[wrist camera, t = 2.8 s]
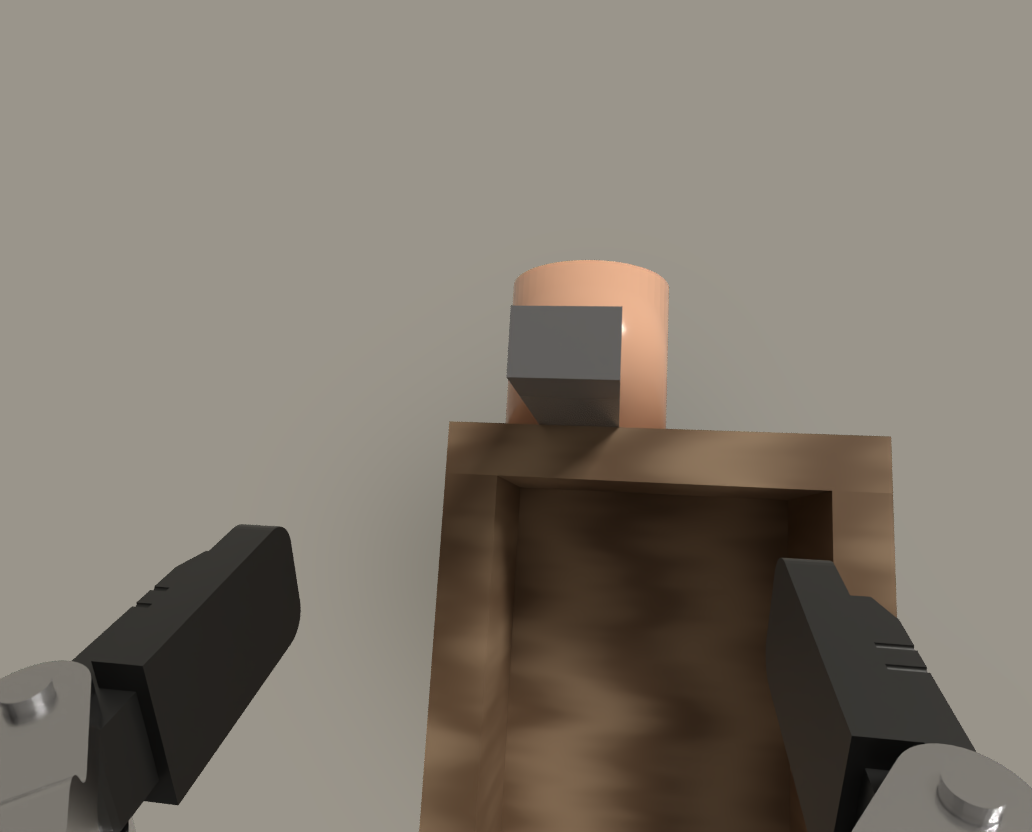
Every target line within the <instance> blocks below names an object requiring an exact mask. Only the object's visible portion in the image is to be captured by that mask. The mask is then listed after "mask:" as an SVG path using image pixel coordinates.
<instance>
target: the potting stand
mask: <svg viewBox="0 0 1032 832" xmlns="http://www.w3.org/2000/svg"><path fill="white" fill-rule="evenodd" d="M891 452H892V450H891V437H885V436H857V435H829V434H828V435H827V434H798V433H770V432H740V431H711V430H710V431H709V430H683V429H654V428H625V427H596V426H566V425H537V424H508V423H478V422H450V423H449V435H448V449H447V463H446V476H445V490H444V504H443V517H442V531H441V545H440V557H439V571H438V584H437V598H436V612H435V626H434V639H433V653H432V666H431V680H430V694H429V707H428V721H427V735H426V749H425V761H424V775H423V789H422V802H421V816H420V829H419V832H807V828H806V824H805V820H804V816H803V813H802V809H801V805H800V801H799V798H798V794H797V790H796V786H795V783H794V779H793V775H792V771H791V767H790V764H789V760H788V756H787V752H786V749H785V745H784V741H783V737H782V734H781V730H780V726H779V722H778V718H777V715H776V711H775V707H774V703H773V700H772V696H771V692H770V688H769V684H768V679H767V672H766V639H767V631H768V622H769V614H770V606H771V598H772V590H773V582H774V574H775V568H776V564H777V561H778V559H779V558H794V559H810V560H827V561H832V562H833V563H834V565H835V566H836V568H837V570H838V572H839V574H840V576H841V578H842V580H843V582H844V584H845V586H846V588H847V590H848V592H849V594H850V595H853V596H868V597H872V598H873V599H874V600H876V601H877V602H878V603H879V604H880V605H882V606H883V607H884V608H885V609H887V610H888V611H889V612H890V613H891V614H893V615H894V616H895V617H896V618H897V607H896V578H895V577H896V576H895V546H894V513H893V483H892V482H893V481H892V453H891Z"/></svg>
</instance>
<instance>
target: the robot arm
mask: <svg viewBox="0 0 1032 832" xmlns="http://www.w3.org/2000/svg"><path fill="white" fill-rule="evenodd" d="M300 611H301V610H300V599H299V592H298V586H297V579H296V572H295V566H294V560H293V553H292V547H291V540H290V536H289V534H288V532H287V531H286V529H285V528H283V527H278V526H260V525H243V524H241V525H237V526H236V527H234V528H233V529H232V530H231V531H230V532H229V533H228V534H227V535H226V536H224V537H223V538H222V539H221V540H220V541H219V542H218V543H217V544H216V545H215V546H214V547H213V548H212V549H211V550H209V551H205V552H203V553H201V554H200V555H198V556H196V557H194V558H192V559H190V560H188V561H186V562H185V563H183V564H181V565H179V566H177V567H175V568H174V569H173V570H172V571H171V572H170V573H169V574H168V575H167V576H166V577H164V578H163V579H162V580H161V581H160V582H159V583H158V584H157V585H155V588H154V590H150V591H149V592H148V593H147V594H146V595H144V596H143V597H142V598H141V599H140V600H139V601H138V602H137V605H136V607H131V608H130V609H129V610H128V611H127V612H126V613H124V614H123V615H122V616H121V617H120V618H119V619H118V620H117V621H115V622H114V623H113V624H112V625H111V626H110V627H109V628H108V629H107V630H106V631H104V633H102V634H101V635H100V636H99V637H98V638H97V639H95V640H94V641H93V642H92V643H91V644H90V645H89V646H88V647H87V648H85V649H84V650H83V651H82V652H81V653H80V654H79V655H78V656H77V657H76V658H74V659H73V660H72V661H52V662H45V663H40V664H37V665H33V666H30V667H27V668H24V669H21V670H18V671H16V672H14V673H11V674H10V675H7V676H5V677H3V678H2V679H0V832H136V830H135V826H134V822H133V819H132V816H133V814H134V813H135V812H136V810H137V809H138V808H139V806H140V805H141V804H142V802H143V801H148V802H156V803H164V804H172V805H179V803H180V802H181V801H182V799H183V798H184V796H185V795H186V793H187V792H188V790H189V789H190V788H191V786H192V785H193V784H194V782H195V781H196V779H197V778H198V776H199V775H200V773H201V772H202V771H203V769H204V768H205V766H206V765H207V763H208V762H209V761H210V759H211V758H212V756H213V755H214V753H215V752H216V751H217V749H218V748H219V746H220V745H221V743H222V742H223V740H224V739H225V738H226V736H227V735H228V733H229V732H230V730H231V729H232V727H233V726H234V725H235V723H236V722H237V720H238V719H239V718H240V716H241V715H242V713H243V712H244V710H245V709H246V708H247V706H248V705H249V703H250V702H251V700H252V699H253V698H254V696H255V695H256V693H257V692H258V690H259V689H260V687H261V686H262V685H263V683H264V682H265V680H266V679H267V677H268V676H269V675H270V673H271V672H272V670H273V668H274V667H275V666H276V665H277V663H278V662H279V660H280V659H281V657H282V656H283V654H284V653H285V652H286V650H287V649H288V647H289V646H290V644H291V643H292V641H293V639H294V637H295V635H296V632H297V629H298V626H299V621H300ZM766 672H767V679H768V684H769V688H770V692H771V696H772V700H773V703H774V707H775V711H776V715H777V718H778V722H779V726H780V730H781V734H782V737H783V741H784V745H785V749H786V752H787V756H788V760H789V764H790V767H791V771H792V775H793V779H794V783H795V786H796V790H797V794H798V798H799V801H800V805H801V809H802V813H803V816H804V820H805V824H806V828H807V832H1032V788H1031V787H1030V786H1029V785H1028V784H1027V783H1026V782H1024V781H1023V780H1022V779H1021V778H1019V777H1018V776H1017V775H1016V774H1015V773H1013V772H1012V771H1010V770H1009V769H1007V768H1006V767H1004V766H1003V765H1001V764H999V763H998V762H996V761H994V760H992V759H990V758H988V757H986V756H983V755H981V754H979V753H977V752H976V750H975V749H974V747H973V745H972V744H971V742H970V740H969V738H968V737H967V735H966V733H965V732H964V730H963V728H962V727H961V725H960V723H959V721H958V720H957V718H956V716H955V715H954V713H953V711H952V709H951V708H950V706H949V705H948V703H947V701H946V699H945V697H944V696H943V694H942V693H941V691H940V689H939V688H938V686H937V684H936V682H935V680H934V679H933V677H932V675H931V674H930V673H927V667H926V665H925V663H924V662H923V660H922V658H921V657H920V655H919V653H918V651H915V650H914V645H913V643H912V641H911V640H910V638H909V636H908V634H907V633H906V631H905V629H904V628H903V626H902V624H901V622H900V621H899V620H898V618H896V617H895V616H894V615H893V614H891V613H890V612H889V611H888V610H887V609H885V608H884V607H883V606H882V605H880V604H879V603H878V602H877V601H876V600H874V599H873V598H872V597H868V596H853V595H850V594H849V592H848V590H847V588H846V586H845V584H844V582H843V580H842V578H841V576H840V574H839V572H838V570H837V568H836V566H835V565H834V563H833V562H832V561H827V560H810V559H794V558H779V559H778V561H777V564H776V568H775V574H774V582H773V590H772V598H771V606H770V614H769V622H768V631H767V639H766Z"/></svg>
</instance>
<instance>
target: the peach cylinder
mask: <svg viewBox="0 0 1032 832" xmlns="http://www.w3.org/2000/svg"><path fill="white" fill-rule="evenodd" d="M668 303H669V286H668V284H667V282H666V281H665V279H663V278H662V277H661V276H660V275H658V274H656V273H655V272H652V271H650V270H648V269H645V268H642V267H639V266H635V265H631V264H626V263H620V262H612V261H600V260H574V261H564V262H556V263H551V264H546V265H542V266H538V267H536V268H533V269H530V270H528V271H526V272H525V273H523V274H521V275H520V276H519V277H518V278H517V279H516V281H515V283H514V294H513V305H511V313H510V329H509V346H508V363H507V378H508V394H507V410H506V423H508V424H537V425H566V426H596V427H625V428H654V429H666V396H667V350H668V346H667V345H668V305H669V304H668Z"/></svg>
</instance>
